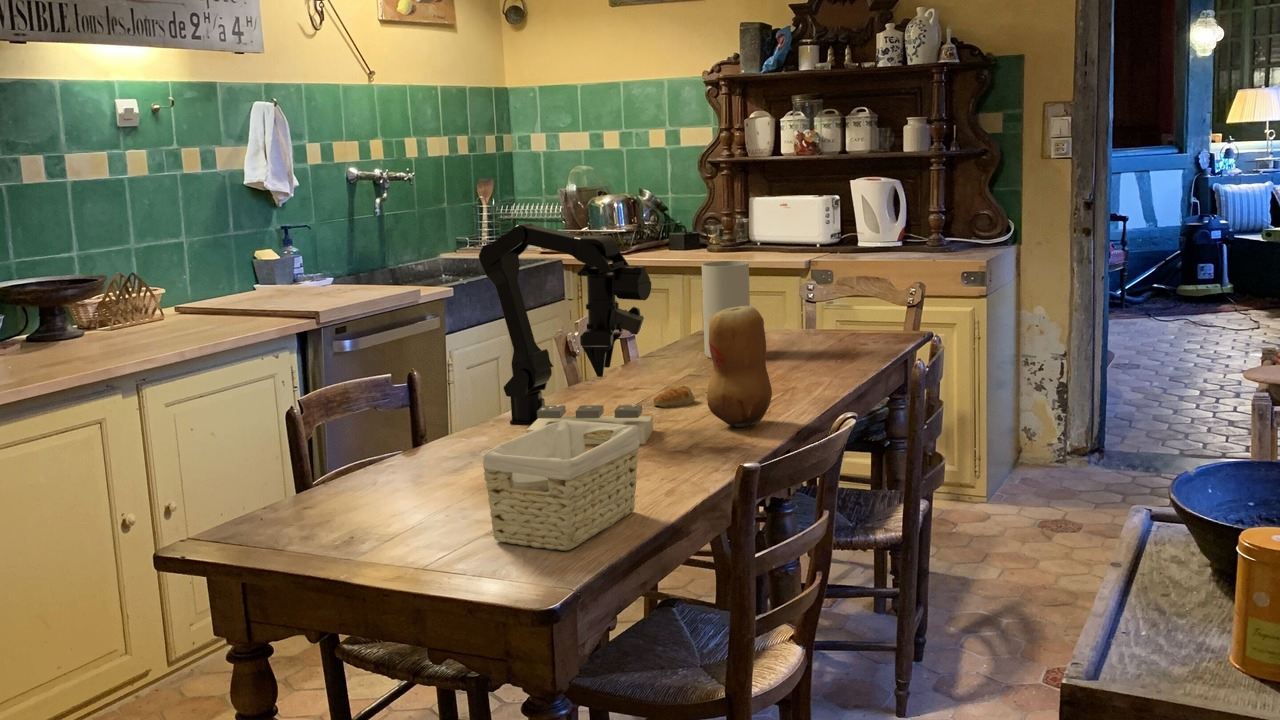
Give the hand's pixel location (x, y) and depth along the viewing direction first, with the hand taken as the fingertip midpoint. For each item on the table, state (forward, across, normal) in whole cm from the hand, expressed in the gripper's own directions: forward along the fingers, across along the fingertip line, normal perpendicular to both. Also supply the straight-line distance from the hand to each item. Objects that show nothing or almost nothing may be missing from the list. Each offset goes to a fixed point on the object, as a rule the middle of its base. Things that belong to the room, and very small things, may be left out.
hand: (603, 372), depth 254 cm
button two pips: (+7, -8, -6) cm, 12 cm away
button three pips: (+8, -7, +10) cm, 14 cm away
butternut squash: (+12, 0, -28) cm, 31 cm away
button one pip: (+7, -8, +2) cm, 11 cm away
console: (+12, -8, +2) cm, 14 cm away
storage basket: (+12, -64, -4) cm, 65 cm away
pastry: (+12, +22, -12) cm, 28 cm away
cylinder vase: (+12, +78, -21) cm, 81 cm away
